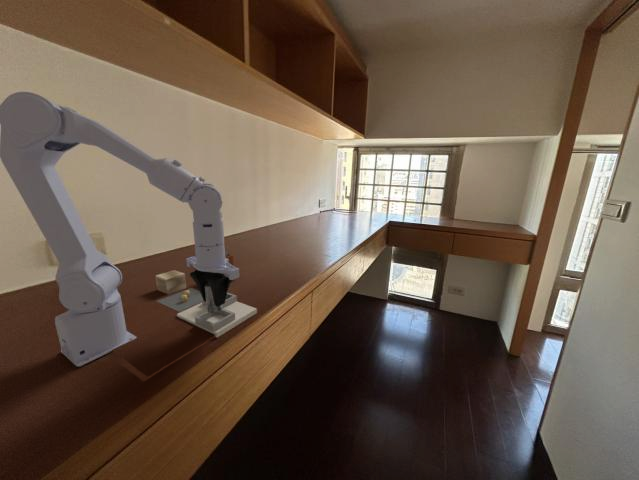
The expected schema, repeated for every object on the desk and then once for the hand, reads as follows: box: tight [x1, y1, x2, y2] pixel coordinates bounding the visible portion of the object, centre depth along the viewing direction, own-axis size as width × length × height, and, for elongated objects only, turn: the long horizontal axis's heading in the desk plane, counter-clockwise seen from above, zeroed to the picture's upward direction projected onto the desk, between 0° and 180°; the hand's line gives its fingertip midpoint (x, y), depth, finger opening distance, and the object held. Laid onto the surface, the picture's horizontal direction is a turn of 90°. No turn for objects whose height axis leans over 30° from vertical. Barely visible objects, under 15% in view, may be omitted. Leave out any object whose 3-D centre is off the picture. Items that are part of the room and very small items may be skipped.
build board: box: [176, 292, 258, 338], centre depth 61 cm, size 12×14×7 cm
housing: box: [155, 269, 187, 296], centre depth 74 cm, size 5×5×5 cm
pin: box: [204, 283, 222, 313], centre depth 56 cm, size 3×3×6 cm
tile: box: [156, 287, 203, 313], centre depth 69 cm, size 10×10×2 cm
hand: (214, 302), depth 57 cm, fingers closed on pin, 3 cm apart
